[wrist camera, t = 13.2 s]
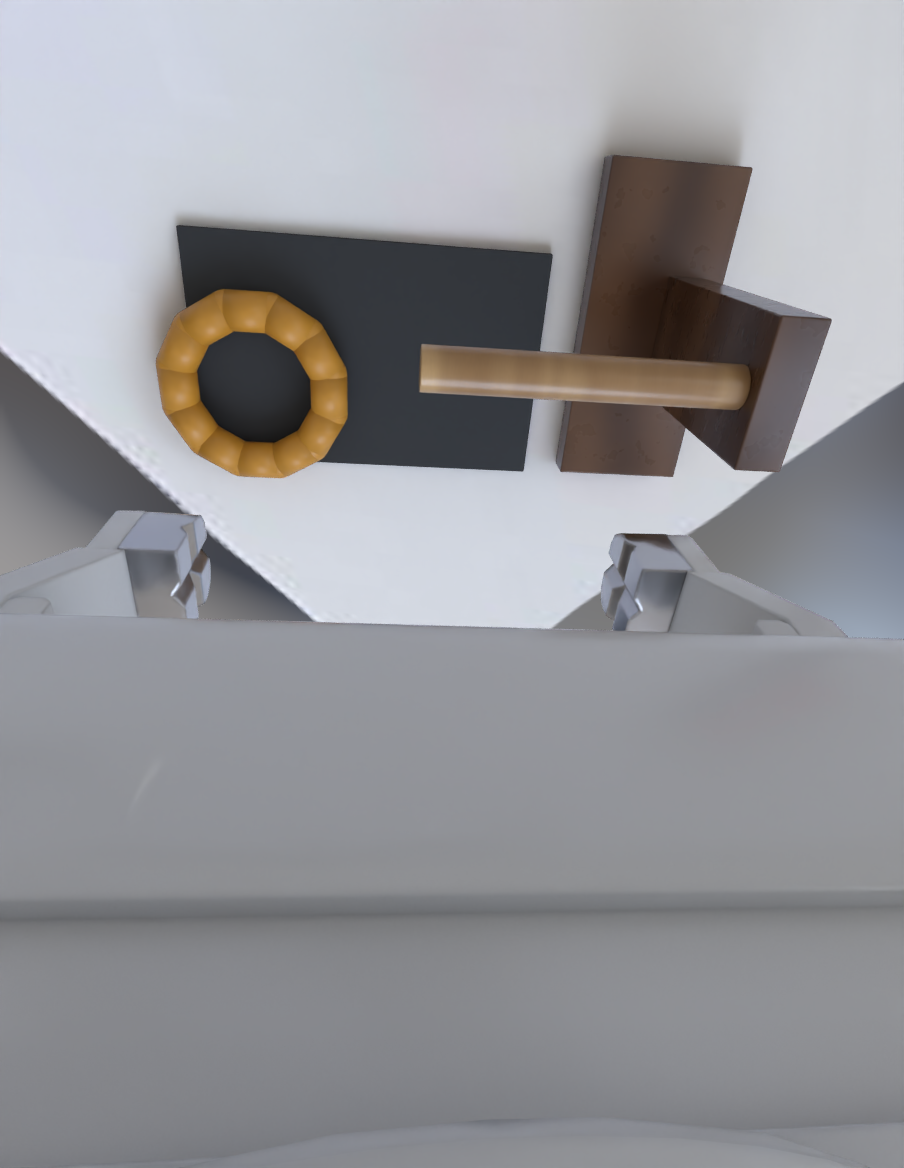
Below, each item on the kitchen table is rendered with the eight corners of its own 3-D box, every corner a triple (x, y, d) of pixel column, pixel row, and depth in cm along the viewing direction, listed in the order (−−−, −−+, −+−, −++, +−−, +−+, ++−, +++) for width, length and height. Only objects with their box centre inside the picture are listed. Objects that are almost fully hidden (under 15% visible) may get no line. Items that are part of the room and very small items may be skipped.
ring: (346, 486, 38) (167, 478, 37) (349, 473, 40) (178, 465, 39) (345, 300, 33) (137, 286, 32) (348, 294, 35) (151, 281, 34)
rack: (740, 168, 33) (917, 160, 22) (664, 468, 42) (765, 577, 30) (422, 139, 32) (433, 114, 20) (409, 456, 40) (411, 566, 29)
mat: (206, 454, 39) (204, 456, 39) (178, 225, 33) (175, 225, 33) (522, 469, 41) (523, 471, 41) (551, 253, 35) (553, 254, 35)
